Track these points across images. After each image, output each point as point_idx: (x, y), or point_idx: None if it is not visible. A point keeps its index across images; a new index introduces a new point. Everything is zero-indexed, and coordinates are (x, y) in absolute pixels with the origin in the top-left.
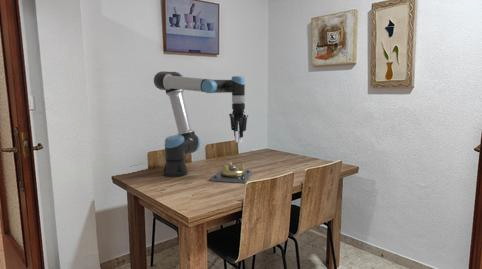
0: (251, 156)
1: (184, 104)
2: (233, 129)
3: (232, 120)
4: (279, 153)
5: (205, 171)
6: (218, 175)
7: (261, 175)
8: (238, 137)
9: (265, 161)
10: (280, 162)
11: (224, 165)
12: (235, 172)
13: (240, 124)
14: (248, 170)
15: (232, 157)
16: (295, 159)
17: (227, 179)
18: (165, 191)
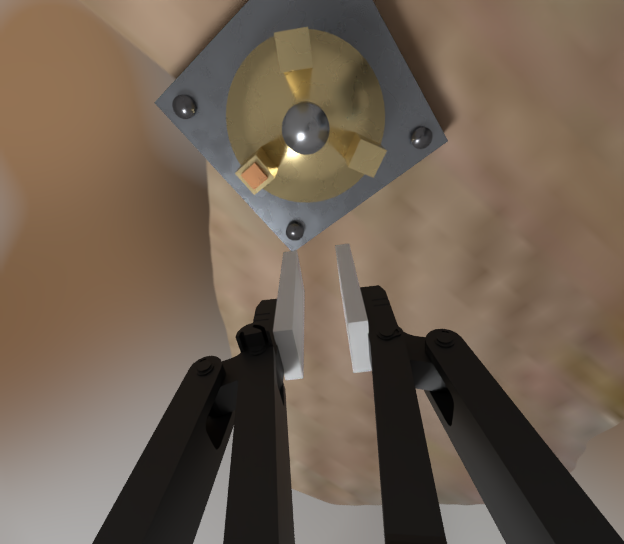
0: (528, 420)
1: None
2: (420, 348)
3: (530, 523)
4: (464, 491)
5: (547, 78)
6: (342, 19)
7: (253, 265)
8: (291, 282)
9: (422, 407)
10: (366, 428)
11: (300, 41)
12: (229, 91)
13: (234, 457)
14: (298, 236)
15: (598, 366)
16: (359, 475)
17: (235, 17)
18: None
